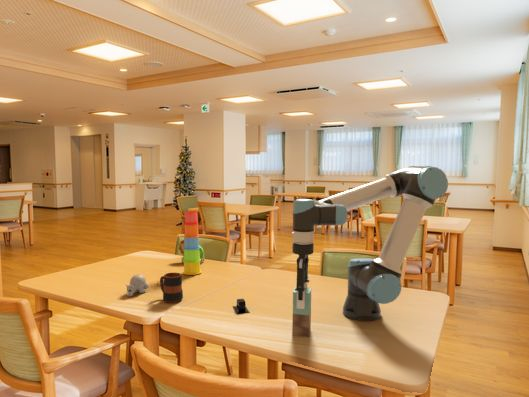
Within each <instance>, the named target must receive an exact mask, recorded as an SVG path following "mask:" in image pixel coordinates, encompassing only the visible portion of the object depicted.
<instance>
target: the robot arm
mask: <svg viewBox="0 0 529 397" xmlns="http://www.w3.org/2000/svg"><path fill="white" fill-rule="evenodd" d="M448 186H449V181H448V178H447V175H446V173H445V172H444V170H442V169H441V168H439V167H436V166H431V165H425V166H423V165H422V166H421V165H420V166H419V165H418V166H417V165H416V166H415V165H411V166H407V167H404V168H402V169H398V170H396V171H394V172H393V171H392V172H391V173H388V174H385V175H384V176H383V177H382V178H380V179H378V180H375V181H372V182H369V183H366V184H363V185H360V186H357V187H355V188H352V189H349V190H346V191H344V192H340V193H337V194H335V195H331V196H329V197H325V198H323V199H320V200H319V199H317V200H315V199H314V200H313V199H311V198H310V199H309V198H297V199H295V200H294V201H293V204H292V205H293V206H292V232H291V233H290V236H292V241H293V242H292V247H291V248H292V251H291V252H292V254H295V255H297V256H298V257H297V258H296V286H295V287H296V289H295V288H294V289H295V291H297V308H298V309H304V308H305V289H304V288H308V283H310V279H309V275H308V274H309V260H310V258H309V255H310V256H311V255H313V254H314V248H315V247H314V246H315V245H314V243H313V242H314V241H315V227H318V226H335V227H336V226H343V225H345V224H346V223H347V220H348V212H349V211H351V210H354V209H357V208H360V207H362V206H365V205H368V204H370V203H374V202H377V201H379V200H383V199H384V198H385V199H386V198H388V197H390V198H395V197H399V196H402V198H403V202H402V203H401V207H400V208H399V211H398V213H397V215H396V217H395V219H394V221H393V223H392V226H391V228H390V230H389V232H388V235H387V237H386V239H385V241H384V244H383V245H382V248H381V250H380V252H379V254H378V257H376V258H369V257H363V258H362V257H358V258H351V259H350V260H349V261H348V265H347V295H346V298H345V300H344V303H343V306H342V314H343V315H344V316H346V317H347V318H348V319H349V318H350V319H352V320H356V321H357V320H358V321H374V320H375V321H376V320H378V319H380V318H381V316H382V315H381V312H382V311H381V307H380V304H383V305H386V304H390V303H393V302H394V301H395V300H397V299H398V297H399V296H400V294H401V292H402V284H401V280H400V279H401V278H402V275H403V272H402V270H401V266H402V265H403V262H404V260H405V257H406V255H407V253H408V251H409V249H410V246H411V244H412V242H413V240H414V238H415V235H416V233H417V231H418V229H419V226H420V224H421V222H422V220H423V218H424V215H425V213H426V211H427V210H428V209H430V208H433V206H434V204H435V202H436V200H438V199H440V198H442V197H443V196H445V195H446V192H447V191H448Z"/></svg>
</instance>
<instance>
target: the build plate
mask: <svg viewBox="0 0 529 397" xmlns="http://www.w3.org/2000/svg"><path fill="white" fill-rule="evenodd" d="M232 308H233V310H234V312H235V315H245V314H251V312H250V310H249V309H248V308H247V305H246V300H245V299H244V298H237V299H236V305H233V306H232Z"/></svg>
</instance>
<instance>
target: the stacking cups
mask: <svg viewBox="0 0 529 397" xmlns="http://www.w3.org/2000/svg"><path fill="white" fill-rule="evenodd" d="M183 226H184V229H183V230H184V235H183V240H184V248H183V249H184V260H183V262H184V263H183V262H182V263H183V265H184V266H183V270H184V271H183V272H182V274H183V275H186V276H195V275H199V274H202V270H201V263H200V261H201V259H200V256H201V255H200V250H199V249H200V247H199V246H200V244H199V242H200V241H199V240H200V235H199V222H198V212H197V211H195V210H194V211H192V210H191V211H185V212H184V223H183Z"/></svg>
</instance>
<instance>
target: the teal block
mask: <svg viewBox="0 0 529 397" xmlns="http://www.w3.org/2000/svg"><path fill="white" fill-rule="evenodd" d="M295 289H296V286H295V287H294V288H293V291H292V315H293V314H300V315H310V311H312V288H311V287H307V288H304V289H305V308H304V309H298V308H297V291H295Z"/></svg>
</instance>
